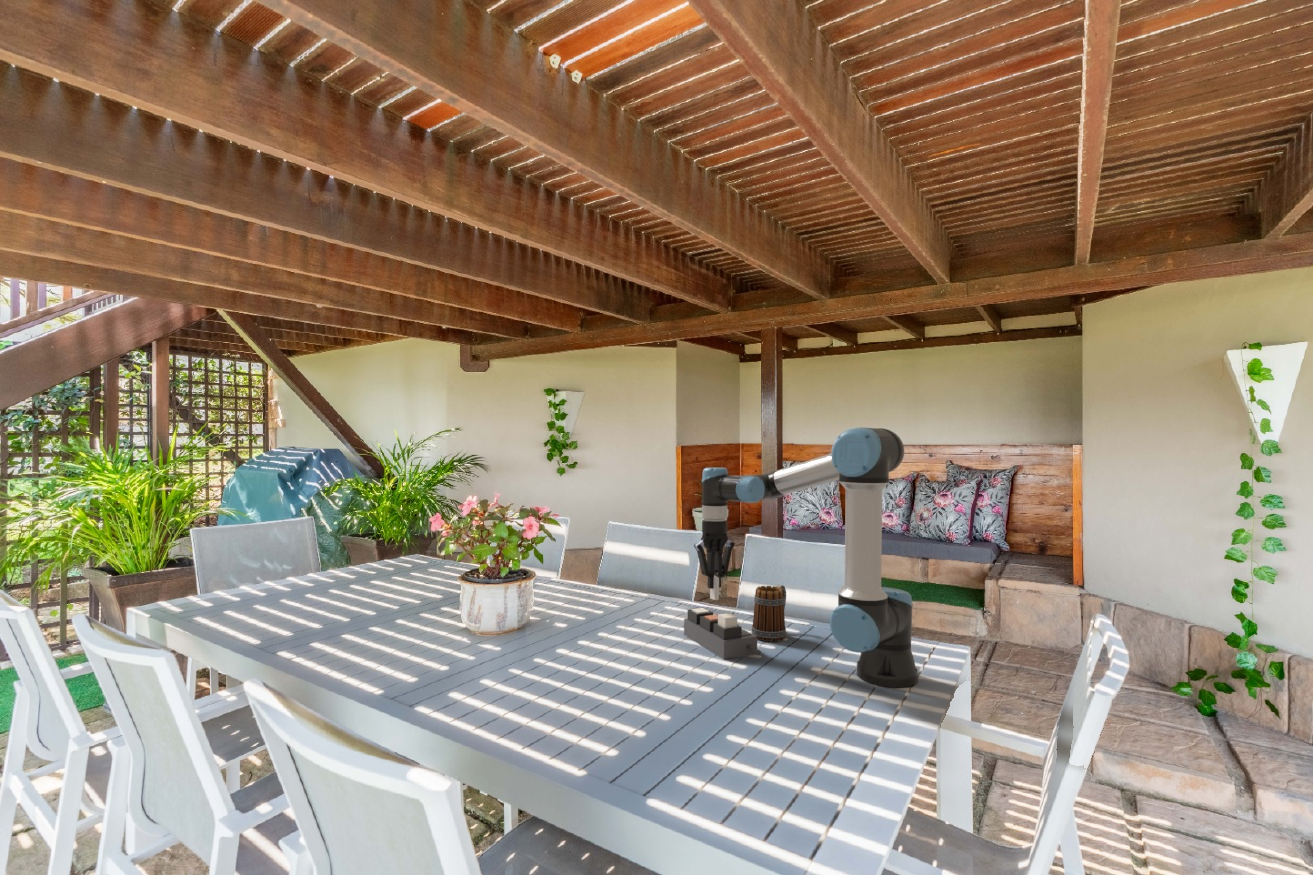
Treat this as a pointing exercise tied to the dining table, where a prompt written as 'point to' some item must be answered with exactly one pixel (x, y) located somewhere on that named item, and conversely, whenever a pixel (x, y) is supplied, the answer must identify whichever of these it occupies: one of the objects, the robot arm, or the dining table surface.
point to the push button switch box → (719, 636)
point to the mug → (769, 613)
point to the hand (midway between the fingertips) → (714, 598)
